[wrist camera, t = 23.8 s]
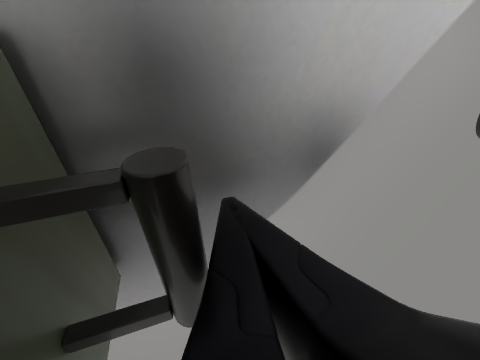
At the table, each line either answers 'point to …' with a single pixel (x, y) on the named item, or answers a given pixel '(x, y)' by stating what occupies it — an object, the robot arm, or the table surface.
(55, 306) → the drawer
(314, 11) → the table surface
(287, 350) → the robot arm
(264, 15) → the table surface
